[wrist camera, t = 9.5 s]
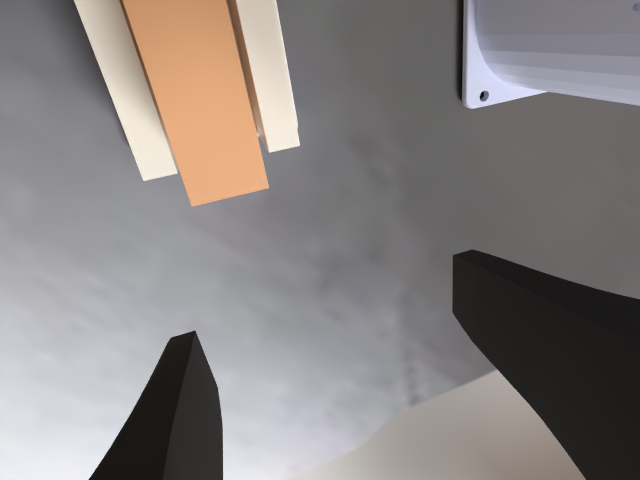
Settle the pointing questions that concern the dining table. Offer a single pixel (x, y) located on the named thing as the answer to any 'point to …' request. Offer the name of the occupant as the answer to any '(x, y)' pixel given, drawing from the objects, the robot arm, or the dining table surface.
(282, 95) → the holder
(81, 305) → the dining table surface
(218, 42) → the panel
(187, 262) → the dining table surface
